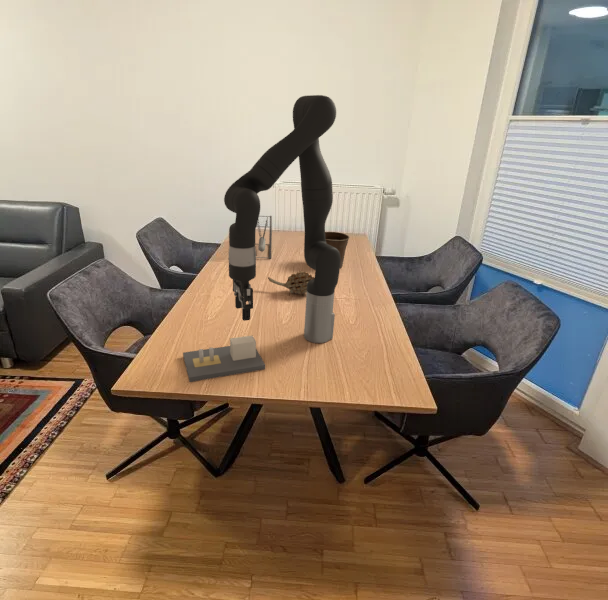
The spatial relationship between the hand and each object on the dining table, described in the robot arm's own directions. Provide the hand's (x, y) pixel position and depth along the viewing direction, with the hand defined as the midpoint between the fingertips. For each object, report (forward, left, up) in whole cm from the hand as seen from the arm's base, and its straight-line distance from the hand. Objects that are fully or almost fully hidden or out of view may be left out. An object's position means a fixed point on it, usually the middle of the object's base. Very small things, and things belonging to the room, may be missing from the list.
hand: (242, 313), depth 120 cm
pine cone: (-33, -47, -16) cm, 60 cm away
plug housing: (0, 0, -14) cm, 14 cm away
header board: (+6, 0, -16) cm, 17 cm away
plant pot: (-66, -76, -16) cm, 102 cm away
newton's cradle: (-38, -108, -16) cm, 116 cm away
